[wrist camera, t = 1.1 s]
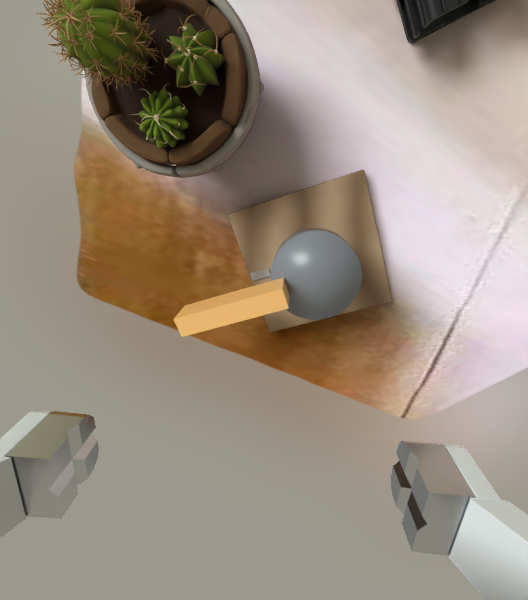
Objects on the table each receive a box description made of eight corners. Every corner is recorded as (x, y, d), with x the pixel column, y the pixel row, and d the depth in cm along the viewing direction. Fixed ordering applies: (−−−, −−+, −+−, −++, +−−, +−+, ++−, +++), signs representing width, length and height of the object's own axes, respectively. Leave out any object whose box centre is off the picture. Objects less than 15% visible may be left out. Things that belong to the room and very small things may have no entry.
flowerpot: (297, 87, 36) (298, -1, 17) (214, 203, 41) (147, 230, 23) (185, -16, 34) (50, -244, 15) (113, 120, 39) (-55, 75, 20)
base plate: (361, 169, 38) (364, 169, 37) (389, 297, 43) (392, 301, 42) (230, 213, 41) (227, 215, 40) (270, 327, 46) (269, 333, 45)
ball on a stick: (345, 216, 34) (356, 226, 28) (364, 296, 37) (378, 321, 31) (180, 267, 38) (158, 286, 32) (209, 337, 41) (194, 366, 35)
